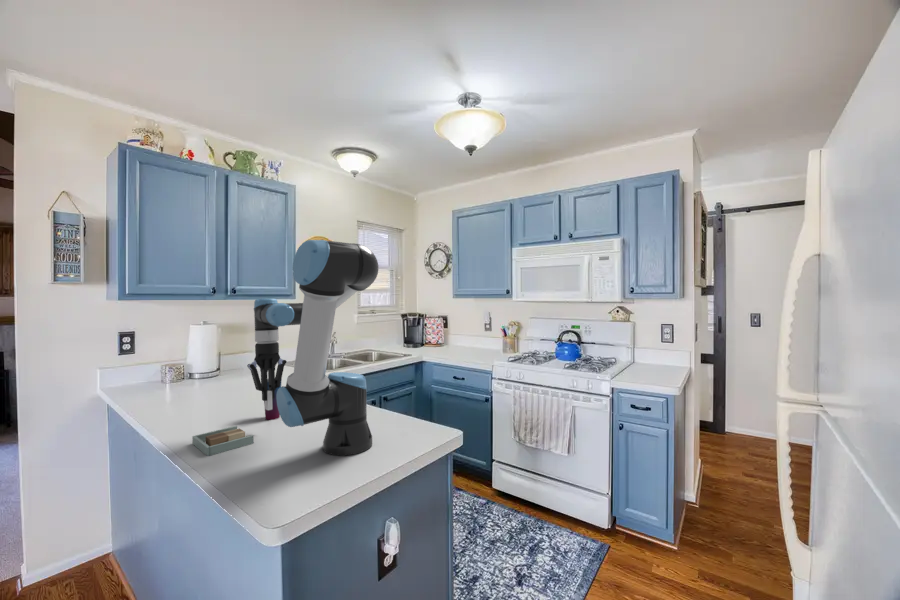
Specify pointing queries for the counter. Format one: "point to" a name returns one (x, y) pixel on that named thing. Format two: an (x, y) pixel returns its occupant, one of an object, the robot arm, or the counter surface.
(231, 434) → the oak tile
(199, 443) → the box
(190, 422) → the counter surface
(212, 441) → the walnut tile
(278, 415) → the cup
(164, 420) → the counter surface
